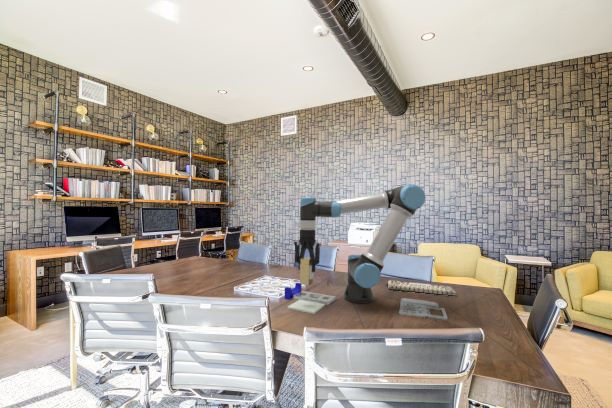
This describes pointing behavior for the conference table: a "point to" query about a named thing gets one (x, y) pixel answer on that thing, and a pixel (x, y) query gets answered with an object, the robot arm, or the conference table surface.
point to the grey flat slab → (420, 308)
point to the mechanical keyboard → (420, 288)
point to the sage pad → (306, 306)
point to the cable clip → (292, 291)
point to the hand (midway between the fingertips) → (306, 278)
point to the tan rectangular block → (305, 271)
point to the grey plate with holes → (321, 298)
